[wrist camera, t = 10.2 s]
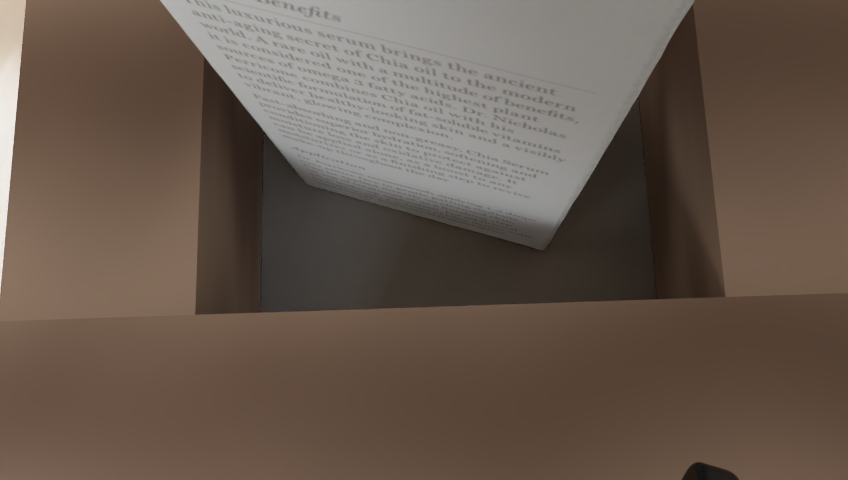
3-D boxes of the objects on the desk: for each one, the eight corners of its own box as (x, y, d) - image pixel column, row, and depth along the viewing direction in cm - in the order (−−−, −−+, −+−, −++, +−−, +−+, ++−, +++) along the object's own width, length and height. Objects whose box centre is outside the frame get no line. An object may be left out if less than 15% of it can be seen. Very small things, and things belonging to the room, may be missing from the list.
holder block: (842, 477, 15) (979, 513, 11) (100, 494, 16) (-21, 534, 12) (752, -180, 18) (835, -336, 14) (137, -141, 19) (50, -279, 15)
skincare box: (590, 86, 17) (895, -590, 5) (544, 255, 16) (777, -75, 4) (350, 25, 17) (121, -704, 6) (296, 186, 17) (-97, -270, 5)
